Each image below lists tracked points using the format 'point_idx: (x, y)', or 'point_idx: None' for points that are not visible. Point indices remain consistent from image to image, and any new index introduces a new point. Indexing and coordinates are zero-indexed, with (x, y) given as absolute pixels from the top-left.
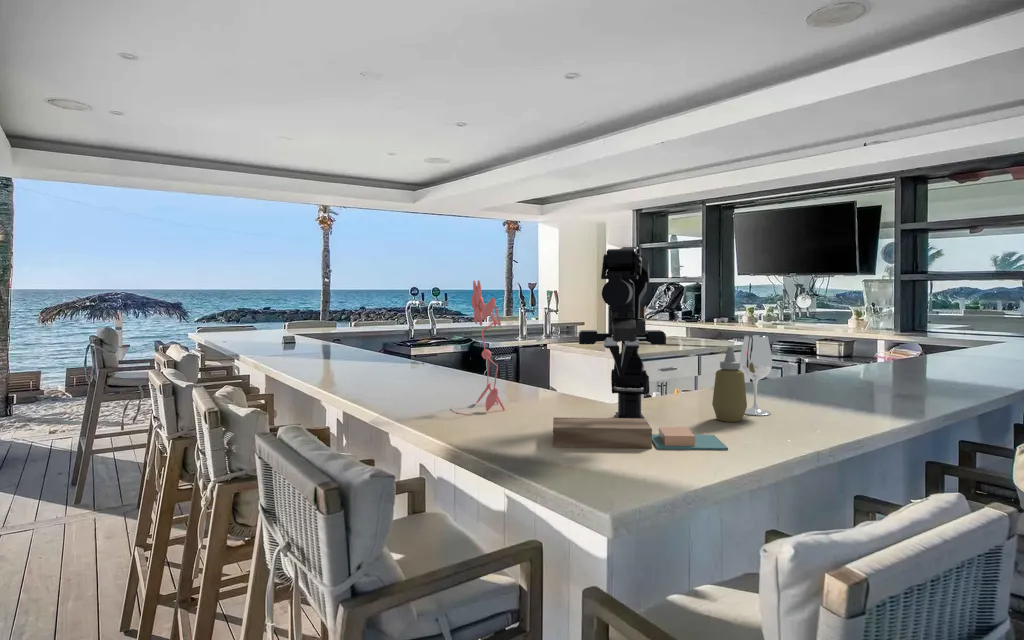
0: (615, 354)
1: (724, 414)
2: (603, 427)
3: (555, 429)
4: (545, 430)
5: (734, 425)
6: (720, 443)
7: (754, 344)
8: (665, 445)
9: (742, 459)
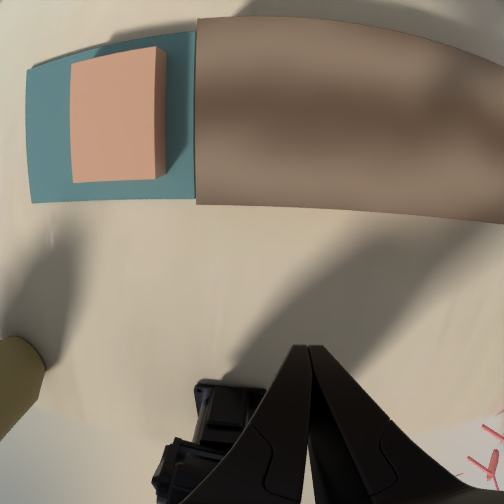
0: (423, 483)
1: (20, 349)
2: (388, 42)
3: None
4: (486, 268)
5: (12, 312)
6: (30, 111)
7: None
8: (165, 53)
9: (31, 5)
